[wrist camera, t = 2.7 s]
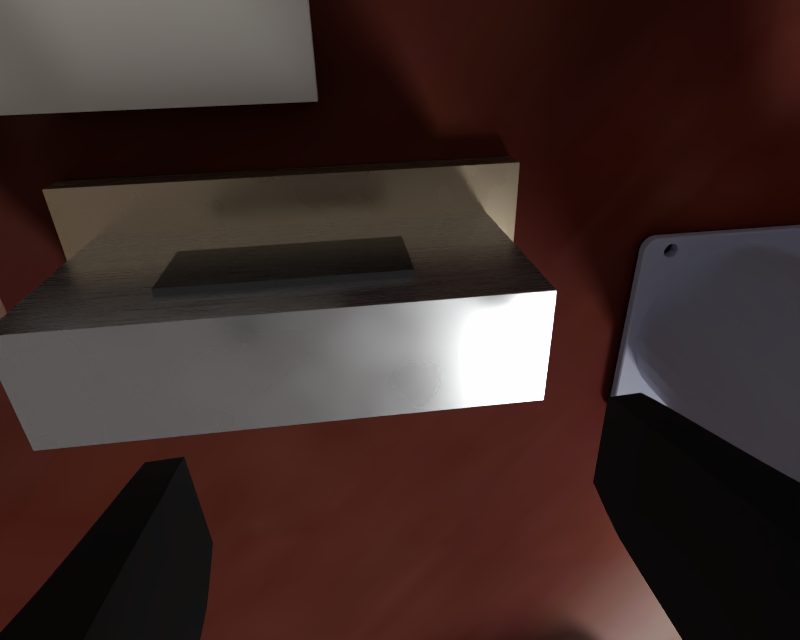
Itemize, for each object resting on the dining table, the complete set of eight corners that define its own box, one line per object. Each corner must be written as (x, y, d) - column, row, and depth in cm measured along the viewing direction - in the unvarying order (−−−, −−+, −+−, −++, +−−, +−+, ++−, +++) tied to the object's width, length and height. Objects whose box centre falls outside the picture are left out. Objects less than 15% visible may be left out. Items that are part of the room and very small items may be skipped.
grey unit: (509, 156, 17) (611, 221, 11) (498, 318, 20) (574, 441, 14) (57, 180, 16) (-111, 271, 10) (114, 350, 19) (12, 502, 13)
